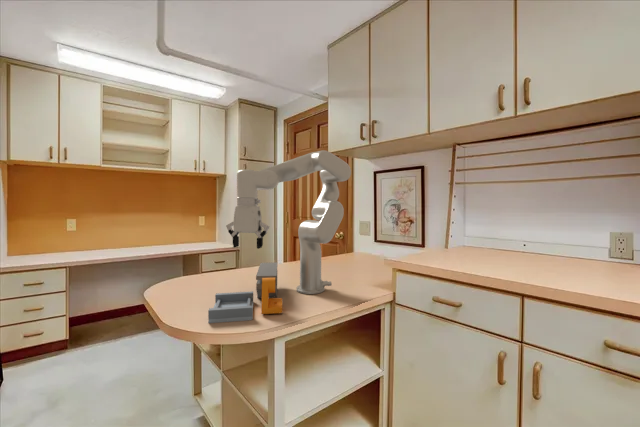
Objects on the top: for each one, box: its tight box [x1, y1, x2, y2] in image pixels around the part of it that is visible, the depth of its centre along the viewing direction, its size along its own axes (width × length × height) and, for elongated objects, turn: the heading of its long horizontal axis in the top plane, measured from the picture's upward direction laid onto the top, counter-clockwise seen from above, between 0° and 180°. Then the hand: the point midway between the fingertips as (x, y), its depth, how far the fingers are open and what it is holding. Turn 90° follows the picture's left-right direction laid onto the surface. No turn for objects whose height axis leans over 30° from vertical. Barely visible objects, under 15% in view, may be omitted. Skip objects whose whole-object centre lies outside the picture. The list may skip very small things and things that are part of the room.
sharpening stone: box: [255, 262, 278, 299], centre depth 127 cm, size 25×8×11 cm, turn 7°
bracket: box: [260, 278, 283, 315], centre depth 107 cm, size 11×7×12 cm, turn 8°
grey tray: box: [207, 290, 254, 324], centre depth 105 cm, size 14×18×4 cm
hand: (247, 247), depth 112 cm, fingers open, 9 cm apart
